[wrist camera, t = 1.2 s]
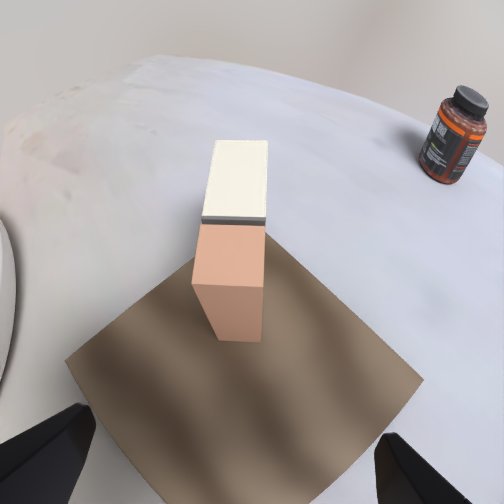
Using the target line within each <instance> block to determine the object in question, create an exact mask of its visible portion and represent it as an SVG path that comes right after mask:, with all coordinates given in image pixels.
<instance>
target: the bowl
mask: <svg viewBox="0 0 504 504" xmlns="http://www.w3.org/2000/svg"><path fill="white" fill-rule="evenodd" d="M15 299H16V276H15V264H14V257H13V251H12V247H11V243H10V239H9V236H8V234H7V231H6V229H5V227H4V225H3V223H2V221H1V219H0V380H1V377H2V374H3V371H4V367H5V364H6V360H7V356H8V351H9V347H10V341H11V336H12V330H13V322H14V313H15Z"/></svg>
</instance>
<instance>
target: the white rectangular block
mask: <svg viewBox="0 0 504 504" xmlns="http://www.w3.org/2000/svg"><path fill="white" fill-rule="evenodd" d="M267 148H268V141H258V140H216V142H215V147H214V152H213V158H212V163H211V168H210V173H209V179H208V184H207V190H206V195H205V201H204V206H203V212H202V218H201V220H202V224H205V225H245V226H265V221H266V187H267Z"/></svg>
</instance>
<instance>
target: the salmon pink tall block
mask: <svg viewBox="0 0 504 504" xmlns="http://www.w3.org/2000/svg"><path fill="white" fill-rule="evenodd" d="M264 252H265V226H245V225H205V224H200V230H199V236H198V243H197V249H196V256H195V262H194V269H193V276H192V283H191V284H192V286H193V288H194V290H195V293H196V295H197V297H198V299H199V301H200V303H201V305H202V307H203V309H204V312H205V314H206V316H207V318H208V320H209V322H210V324H211V326H212V328H213V330H214V332H215V334H216V336H217V338H218V340H221V341H238V342H261V331H262V307H263V281H264Z"/></svg>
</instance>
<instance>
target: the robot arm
mask: <svg viewBox="0 0 504 504" xmlns="http://www.w3.org/2000/svg"><path fill="white" fill-rule="evenodd" d="M95 429H96V421H95V419H94V416H93V413H92V411H91V408H90V407H89V406H88V405H86V404H83V403H75V404H73V405H72V406H70V407H68V408H66V409H65V410H63V411H61V412H59V413H57V414H56V415H54V416H52V417H50V418H48V419H47V420H45V421H43V422H41V423H39V424H37V425H36V426H34V427H32V428H30V429H28V430H26V431H24V432H23V433H21V434H19V435H17V436H15V437H13V438H11V439H9V440H7V441H5V442H4V443H2V444H0V504H68V501H69V499H70V497H71V494H72V492H73V489H74V487H75V485H76V482H77V480H78V478H79V475H80V473H81V471H82V469H83V466H84V464H85V461H86V458H87V454H88V451H89V448H90V445H91V441H92V438H93V435H94V432H95ZM374 460H375V473H376V489H377V498H378V504H472V503H471V502H470V501H469V500H468V499H467V498H465V497H464V496H463V495H462V494H461V493H460V492H459V491H458V490H457V489H456V488H455V487H453V486H452V485H451V484H450V483H449V482H448V481H447V480H446V479H445V478H444V477H443V476H442V475H441V474H439V473H438V472H437V471H436V470H435V469H434V468H433V467H432V466H431V465H430V464H429V463H428V462H427V461H426V460H425V459H423V458H422V457H421V456H420V455H419V454H418V453H417V452H416V451H415V450H414V449H413V448H412V447H411V446H410V445H409V444H408V443H407V442H406V441H405V440H404V439H403V438H401V437H400V436H399V435H398V434H397V433H395V432H392V433H385V434H383V435H382V436H381V438H380V440H379V442H378V444H377V446H376V448H375V451H374Z"/></svg>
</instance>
